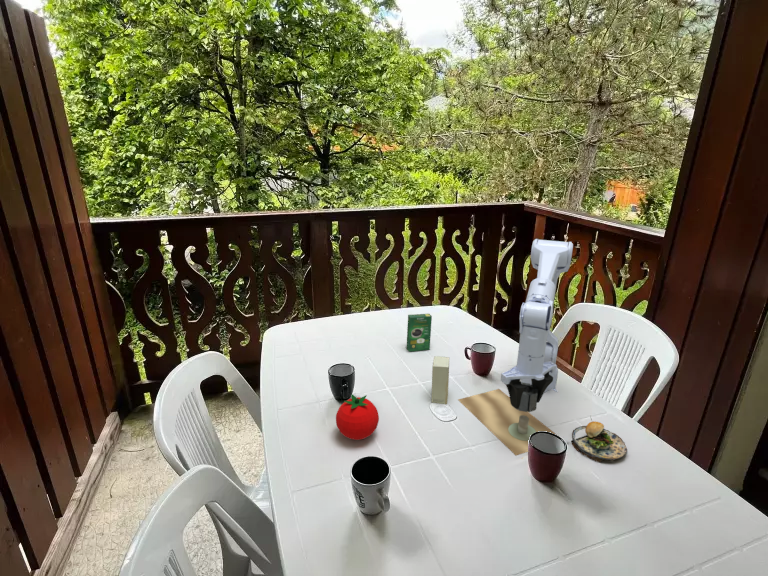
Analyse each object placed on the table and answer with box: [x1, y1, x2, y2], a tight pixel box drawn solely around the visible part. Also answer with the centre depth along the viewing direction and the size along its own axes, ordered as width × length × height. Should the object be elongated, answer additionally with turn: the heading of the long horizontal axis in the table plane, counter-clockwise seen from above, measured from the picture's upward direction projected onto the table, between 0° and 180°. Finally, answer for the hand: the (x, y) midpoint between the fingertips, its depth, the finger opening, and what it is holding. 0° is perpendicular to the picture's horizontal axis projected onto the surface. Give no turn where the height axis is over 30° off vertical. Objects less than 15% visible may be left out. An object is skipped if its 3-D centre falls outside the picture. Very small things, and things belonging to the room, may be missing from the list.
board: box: [457, 388, 558, 457], centre depth 106 cm, size 14×24×5 cm, turn 23°
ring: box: [514, 382, 538, 413], centre depth 98 cm, size 6×6×4 cm
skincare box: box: [431, 355, 450, 405], centre depth 114 cm, size 6×4×12 cm
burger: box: [570, 415, 628, 463], centre depth 97 cm, size 12×12×8 cm
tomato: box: [335, 393, 380, 441], centre depth 100 cm, size 10×10×10 cm
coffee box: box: [406, 313, 433, 353], centre depth 143 cm, size 8×3×13 cm, turn 103°
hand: (525, 403), depth 99 cm, fingers closed on ring, 6 cm apart
